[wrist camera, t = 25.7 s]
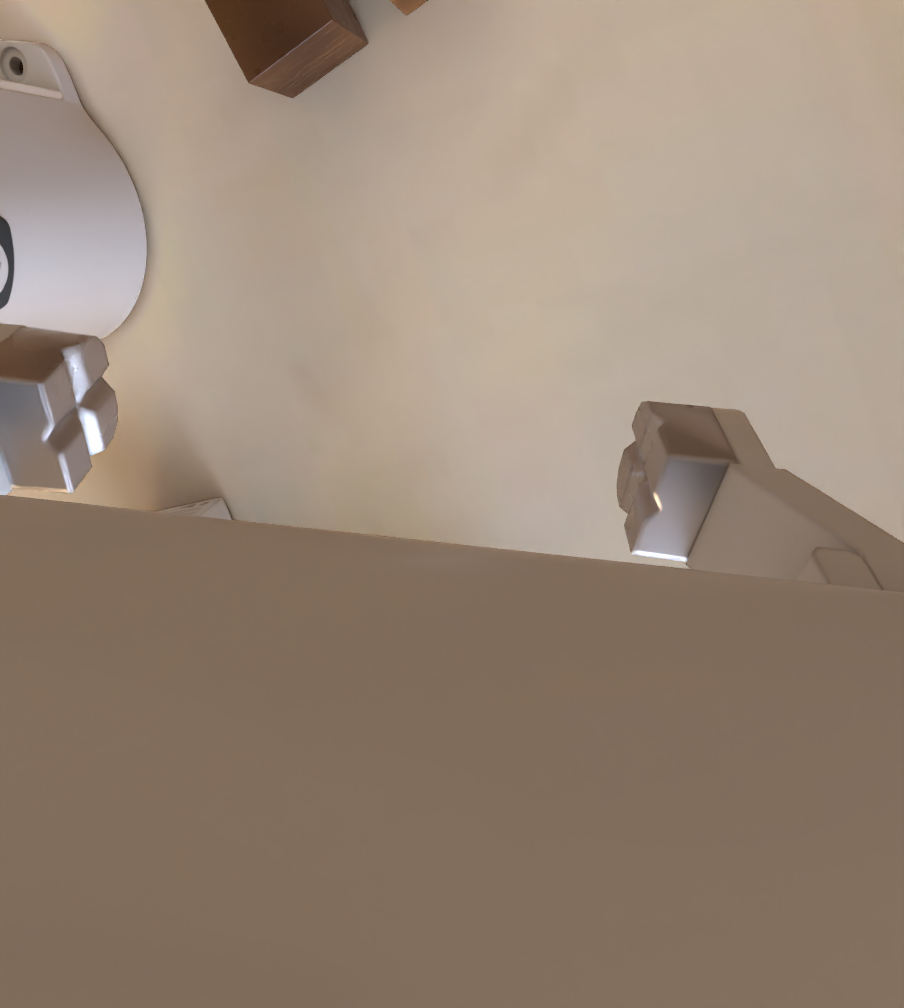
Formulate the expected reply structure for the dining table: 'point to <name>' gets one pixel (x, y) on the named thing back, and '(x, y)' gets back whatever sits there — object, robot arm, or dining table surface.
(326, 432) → the dining table surface
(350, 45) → the block line
